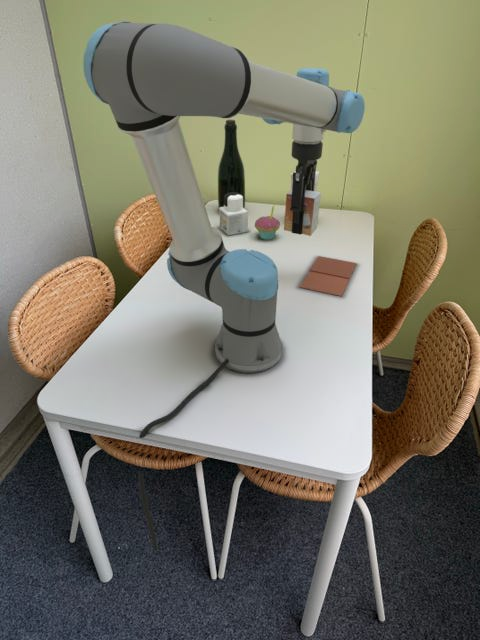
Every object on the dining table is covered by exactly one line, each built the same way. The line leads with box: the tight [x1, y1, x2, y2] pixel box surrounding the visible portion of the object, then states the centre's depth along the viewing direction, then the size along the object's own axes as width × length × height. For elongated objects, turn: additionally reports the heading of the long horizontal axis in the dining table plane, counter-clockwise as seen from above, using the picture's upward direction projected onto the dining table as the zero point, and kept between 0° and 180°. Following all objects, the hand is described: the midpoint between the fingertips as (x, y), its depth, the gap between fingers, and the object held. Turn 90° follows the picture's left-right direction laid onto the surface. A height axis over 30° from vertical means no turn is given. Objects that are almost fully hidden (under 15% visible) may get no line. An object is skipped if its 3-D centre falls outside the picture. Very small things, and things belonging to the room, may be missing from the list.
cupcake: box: [254, 204, 281, 241], centre depth 149 cm, size 9×8×12 cm
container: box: [218, 192, 249, 236], centre depth 153 cm, size 8×8×13 cm
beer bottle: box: [217, 119, 246, 211], centre depth 162 cm, size 10×10×33 cm
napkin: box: [299, 255, 357, 297], centre depth 130 cm, size 20×12×1 cm, turn 157°
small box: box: [283, 189, 322, 237], centre depth 118 cm, size 8×6×10 cm
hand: (300, 228), depth 121 cm, fingers closed on small box, 6 cm apart
